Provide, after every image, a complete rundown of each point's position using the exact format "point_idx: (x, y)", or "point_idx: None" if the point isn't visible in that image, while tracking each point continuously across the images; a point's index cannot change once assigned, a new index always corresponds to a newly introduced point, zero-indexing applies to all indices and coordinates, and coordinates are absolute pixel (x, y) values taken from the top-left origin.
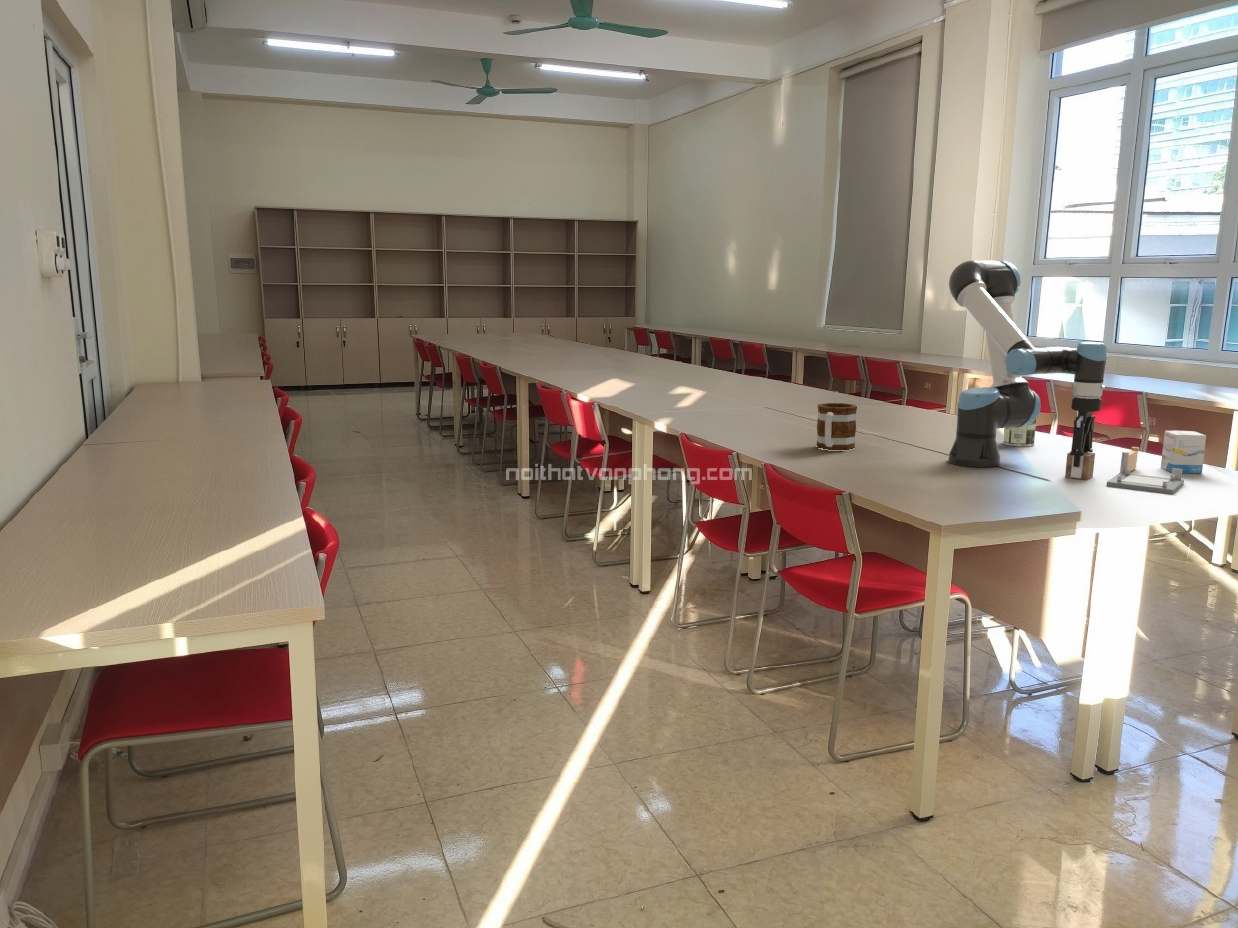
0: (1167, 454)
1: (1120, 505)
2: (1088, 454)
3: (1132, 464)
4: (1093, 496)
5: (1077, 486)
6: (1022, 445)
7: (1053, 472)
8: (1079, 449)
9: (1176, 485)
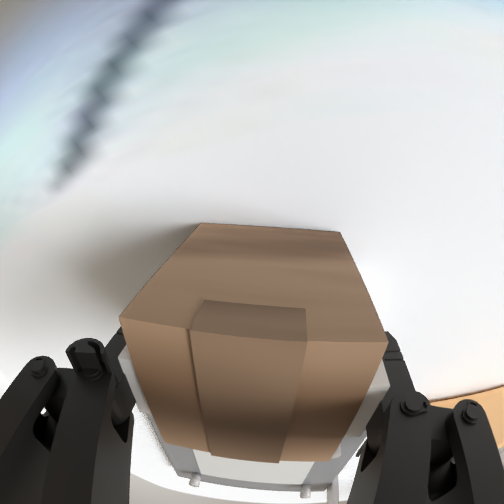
0: (501, 458)
1: (13, 372)
2: (208, 445)
3: None
4: (15, 338)
5: (61, 302)
6: None
7: (334, 122)
8: (42, 425)
9: (236, 486)
